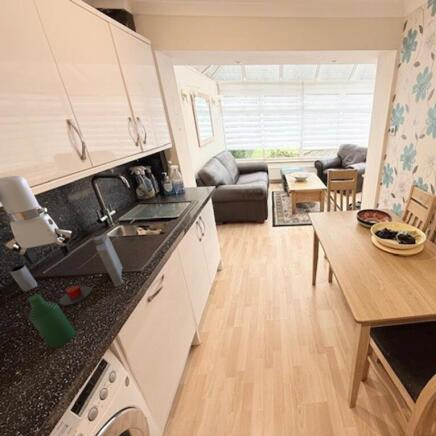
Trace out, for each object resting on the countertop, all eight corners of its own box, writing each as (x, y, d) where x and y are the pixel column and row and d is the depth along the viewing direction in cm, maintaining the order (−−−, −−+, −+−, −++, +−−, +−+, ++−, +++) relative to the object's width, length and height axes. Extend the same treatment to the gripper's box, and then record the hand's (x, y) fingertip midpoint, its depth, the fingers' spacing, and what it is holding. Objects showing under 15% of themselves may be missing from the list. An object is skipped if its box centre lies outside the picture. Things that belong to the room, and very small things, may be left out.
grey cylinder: (28, 285, 102) (15, 265, 98) (40, 283, 103) (27, 264, 98) (20, 292, 98) (5, 272, 94) (32, 290, 99) (18, 270, 94)
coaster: (53, 305, 90) (52, 304, 90) (76, 287, 99) (76, 286, 99) (76, 306, 89) (75, 305, 89) (98, 287, 98) (97, 286, 98)
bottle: (43, 347, 74) (11, 305, 66) (63, 329, 79) (36, 289, 72) (62, 348, 73) (31, 306, 65) (80, 330, 79) (54, 289, 71)
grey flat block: (123, 284, 99) (104, 243, 90) (112, 288, 97) (91, 247, 88) (122, 266, 111) (105, 228, 102) (112, 269, 109) (93, 231, 100)
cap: (75, 291, 96) (72, 285, 94) (85, 291, 96) (81, 285, 94) (66, 298, 92) (62, 292, 91) (76, 298, 92) (72, 292, 91)
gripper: (63, 205, 85) (83, 246, 92) (-2, 215, 78) (24, 259, 86) (54, 212, 78) (76, 256, 85) (-18, 224, 72) (13, 270, 79)
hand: (50, 257), depth 85 cm, fingers open, 9 cm apart
